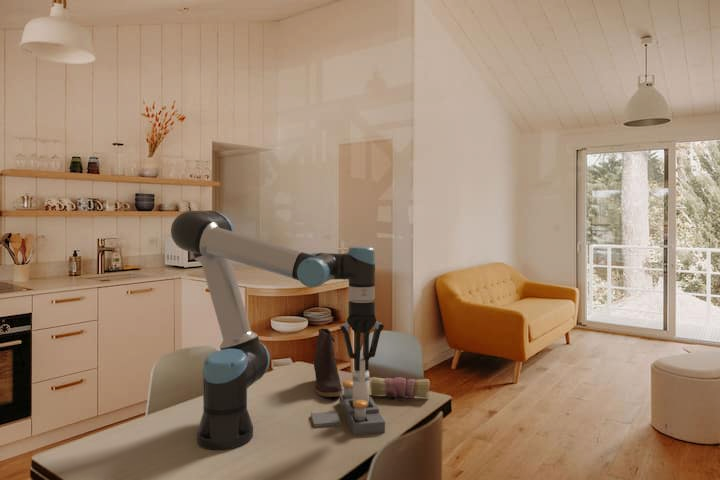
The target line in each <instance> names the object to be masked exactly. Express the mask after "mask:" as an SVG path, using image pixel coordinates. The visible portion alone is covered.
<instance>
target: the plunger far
mask: <svg viewBox="0 0 720 480" xmlns="http://www.w3.org/2000/svg"><path fill="white" fill-rule="evenodd" d="M342 387H343V388H344V389H343V394H344V398H345V399H351V398H353V380H345V381H342Z"/></svg>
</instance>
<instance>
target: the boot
mask: <svg viewBox="0 0 720 480" xmlns="http://www.w3.org/2000/svg"><path fill="white" fill-rule="evenodd" d="M317 332H318V337H317V342H316V351H315V355H314V357H313V369H314V372H315V373H314V374H315V391H316V392H315V393H317V394H318V395H320V396H322V397H324V398H325V397H326V398H327V397H328V398H332V397H340V394H343V386H342V383H341V380H340V379H341V377H340V376H339V375H340V374H339V371H338V367H337V361H336V356H335V355H336V354H335V348H334V344H333V342H334V343H335V338H334V337H333V334H332V331H331V330H330V329H329V328H319V329H318V331H317Z"/></svg>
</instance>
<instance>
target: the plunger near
mask: <svg viewBox="0 0 720 480" xmlns="http://www.w3.org/2000/svg"><path fill="white" fill-rule="evenodd" d="M353 406H354V407H355V420H357V421H364V420H366V407H367V406H368V402H367V401H365V400H356V401H354V402H353Z"/></svg>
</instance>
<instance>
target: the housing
mask: <svg viewBox="0 0 720 480" xmlns="http://www.w3.org/2000/svg"><path fill="white" fill-rule="evenodd" d="M339 405H340V407H341V409H342V411H343V414H344V415H345V416H344V417H345V418H346V420H347V422H348V425H349V427H350V429H351V431H352V434H353V435H354V436H356V435H367V434H368V435H369V434H377V433H378V434H380V433H381V434H382V433H385V432H386V431H385V430H386V422H385V419H384V418H383V417H382V415H381V413H380V408H379V407H378V406H377V404H376V403H375V401H374V399H373V397H372V396H369V408H366V420H364V421H357V420H355V409H353V398H351V399H345V398H344V393H342V394H340V396H339Z"/></svg>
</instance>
